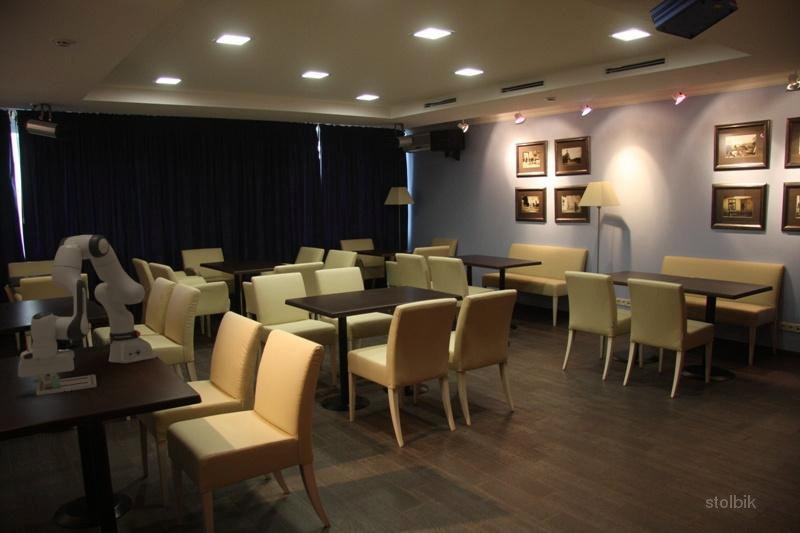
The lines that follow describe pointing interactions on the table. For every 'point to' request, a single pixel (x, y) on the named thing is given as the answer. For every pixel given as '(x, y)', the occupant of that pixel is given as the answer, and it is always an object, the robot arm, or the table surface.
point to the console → (67, 385)
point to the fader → (56, 381)
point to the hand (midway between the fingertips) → (48, 384)
